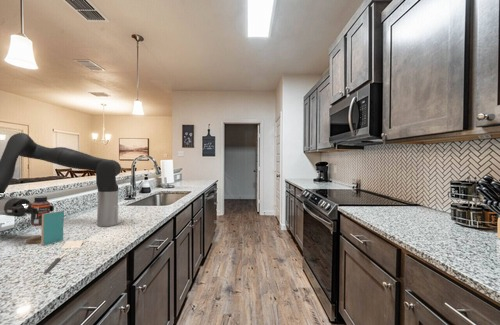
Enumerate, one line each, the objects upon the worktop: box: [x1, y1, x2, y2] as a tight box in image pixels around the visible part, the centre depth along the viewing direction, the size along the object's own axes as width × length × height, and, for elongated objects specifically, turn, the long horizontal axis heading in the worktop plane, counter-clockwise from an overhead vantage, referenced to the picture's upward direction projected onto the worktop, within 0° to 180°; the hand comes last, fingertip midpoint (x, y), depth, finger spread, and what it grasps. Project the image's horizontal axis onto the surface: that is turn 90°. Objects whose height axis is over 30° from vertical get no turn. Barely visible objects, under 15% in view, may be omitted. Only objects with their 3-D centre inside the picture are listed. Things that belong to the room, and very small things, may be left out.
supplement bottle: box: [30, 195, 51, 227], centre depth 106 cm, size 6×6×11 cm
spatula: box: [42, 239, 85, 275], centre depth 90 cm, size 6×29×2 cm, turn 19°
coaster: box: [25, 235, 41, 245], centre depth 107 cm, size 9×9×1 cm
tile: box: [40, 210, 65, 247], centre depth 104 cm, size 1×8×12 cm, turn 166°
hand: (44, 209), depth 106 cm, fingers closed on supplement bottle, 6 cm apart
